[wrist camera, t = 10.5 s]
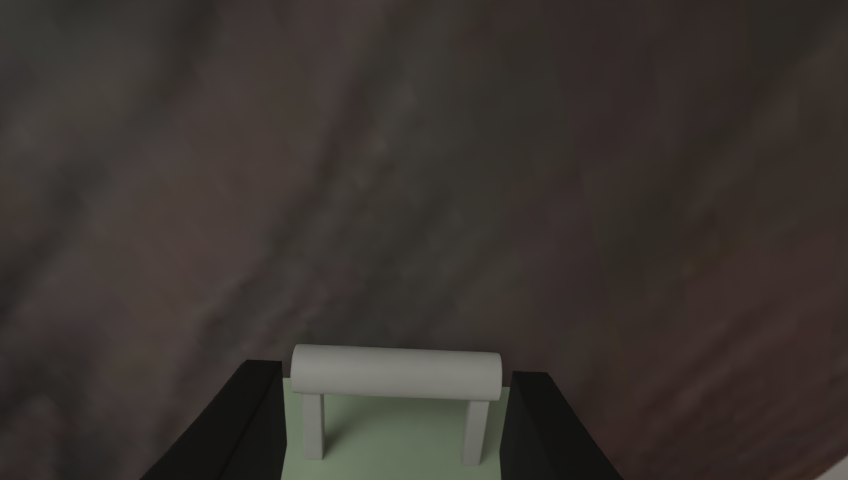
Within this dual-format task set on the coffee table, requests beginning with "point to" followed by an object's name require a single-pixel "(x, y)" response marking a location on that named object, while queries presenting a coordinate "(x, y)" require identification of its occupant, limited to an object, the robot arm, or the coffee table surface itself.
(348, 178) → the coffee table surface
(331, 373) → the drawer
